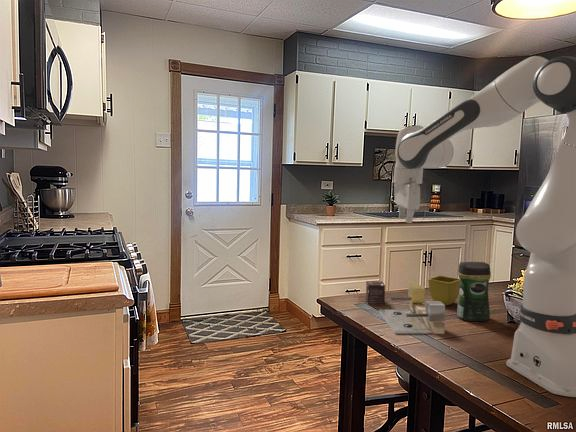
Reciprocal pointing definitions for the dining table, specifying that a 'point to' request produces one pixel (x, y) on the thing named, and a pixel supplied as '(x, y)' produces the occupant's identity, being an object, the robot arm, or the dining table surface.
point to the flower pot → (444, 289)
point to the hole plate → (403, 322)
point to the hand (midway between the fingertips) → (405, 220)
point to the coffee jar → (473, 291)
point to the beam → (430, 315)
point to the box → (375, 292)
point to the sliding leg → (414, 295)
